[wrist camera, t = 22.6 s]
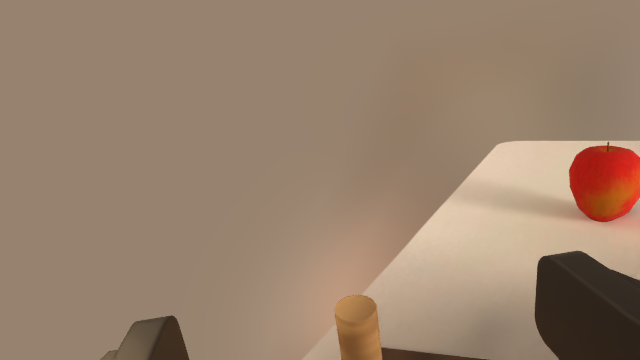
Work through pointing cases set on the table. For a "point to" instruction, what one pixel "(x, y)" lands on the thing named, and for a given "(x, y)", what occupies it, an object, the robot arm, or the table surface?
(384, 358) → the board
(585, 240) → the table surface
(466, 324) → the table surface
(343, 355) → the wooden peg stand
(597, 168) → the apple
